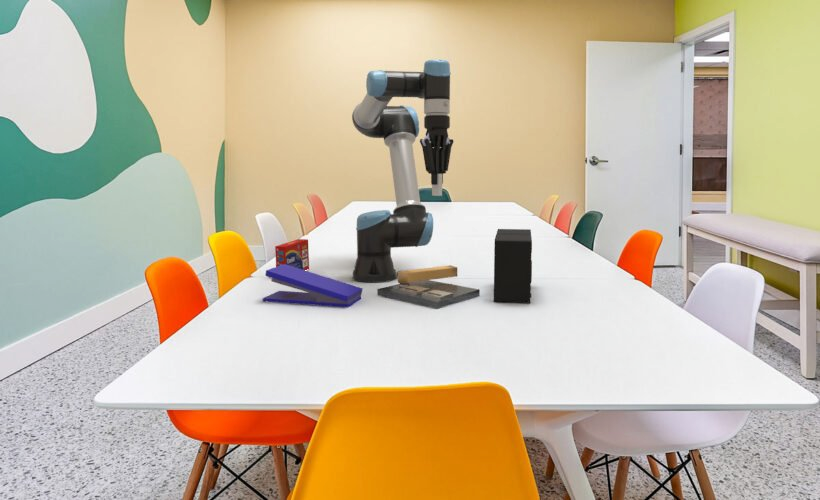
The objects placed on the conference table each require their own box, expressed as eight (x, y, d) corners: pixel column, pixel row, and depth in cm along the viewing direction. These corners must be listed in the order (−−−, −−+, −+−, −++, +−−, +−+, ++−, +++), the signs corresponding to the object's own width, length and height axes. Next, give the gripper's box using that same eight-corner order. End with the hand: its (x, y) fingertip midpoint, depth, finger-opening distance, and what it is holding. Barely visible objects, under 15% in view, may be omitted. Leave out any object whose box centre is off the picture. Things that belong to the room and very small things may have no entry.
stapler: (280, 294, 184) (279, 263, 182) (363, 299, 176) (363, 267, 174) (261, 303, 173) (259, 270, 171) (349, 309, 165) (348, 275, 163)
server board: (377, 295, 179) (377, 286, 179) (420, 284, 194) (420, 276, 194) (437, 308, 163) (437, 299, 163) (479, 295, 178) (479, 287, 177)
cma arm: (401, 284, 181) (401, 273, 180) (395, 281, 184) (395, 271, 184) (457, 276, 191) (457, 267, 190) (450, 274, 194) (450, 265, 193)
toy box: (299, 269, 222) (298, 239, 220) (309, 269, 221) (308, 239, 219) (276, 278, 205) (275, 246, 203) (286, 279, 204) (285, 246, 202)
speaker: (531, 304, 168) (533, 240, 165) (493, 302, 170) (494, 239, 167) (530, 285, 192) (531, 229, 189) (497, 284, 194) (498, 228, 191)
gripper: (432, 113, 164) (432, 197, 168) (460, 115, 174) (460, 194, 177) (412, 114, 169) (413, 196, 173) (441, 116, 179) (441, 194, 182)
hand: (437, 195), depth 175 cm, fingers closed
